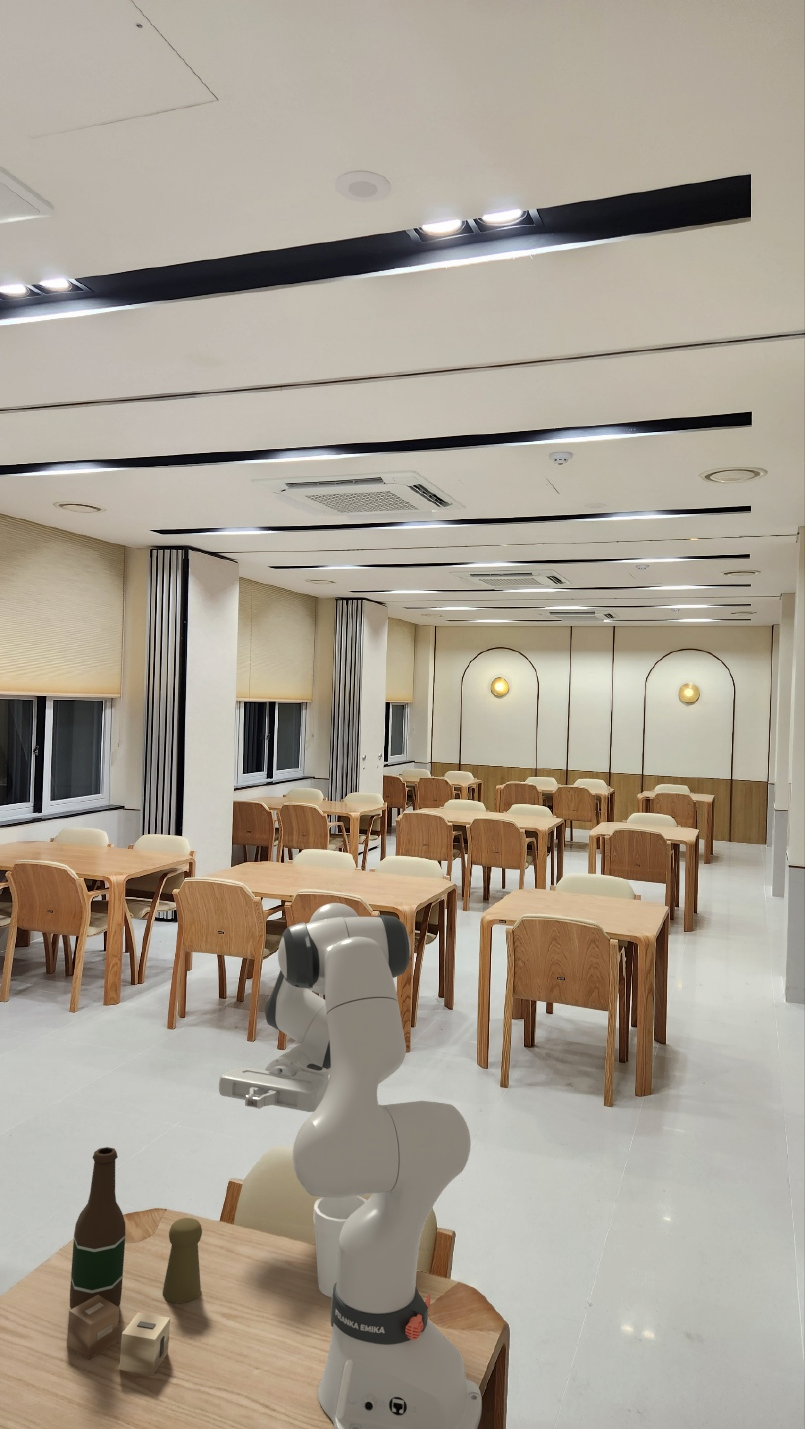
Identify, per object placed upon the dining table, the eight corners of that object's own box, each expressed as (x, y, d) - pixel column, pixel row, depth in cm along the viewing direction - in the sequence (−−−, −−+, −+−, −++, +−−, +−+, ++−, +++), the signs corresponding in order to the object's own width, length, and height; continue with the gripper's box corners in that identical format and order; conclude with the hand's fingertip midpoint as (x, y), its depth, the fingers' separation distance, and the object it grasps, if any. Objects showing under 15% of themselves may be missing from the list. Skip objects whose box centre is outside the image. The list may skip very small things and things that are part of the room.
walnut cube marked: (117, 1342, 132) (120, 1307, 133) (88, 1360, 128) (91, 1323, 128) (95, 1328, 135) (98, 1293, 135) (66, 1345, 131) (69, 1309, 131)
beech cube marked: (168, 1353, 131) (171, 1316, 131) (153, 1376, 126) (156, 1338, 126) (135, 1347, 132) (138, 1310, 132) (119, 1369, 127) (121, 1332, 127)
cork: (192, 1305, 142) (197, 1234, 142) (156, 1299, 143) (160, 1228, 143) (206, 1283, 148) (210, 1215, 148) (171, 1278, 149) (175, 1210, 149)
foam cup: (300, 1295, 146) (305, 1213, 147) (321, 1265, 155) (326, 1188, 155) (355, 1309, 143) (360, 1225, 144) (373, 1277, 152) (378, 1199, 153)
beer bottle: (87, 1330, 135) (98, 1166, 136) (58, 1308, 139) (69, 1150, 140) (131, 1306, 141) (141, 1150, 142) (101, 1286, 146) (112, 1135, 146)
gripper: (240, 1054, 177) (202, 1075, 164) (335, 1070, 171) (304, 1094, 158) (238, 1087, 177) (200, 1111, 164) (334, 1104, 170) (302, 1130, 157)
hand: (252, 1102), depth 161 cm, fingers closed
